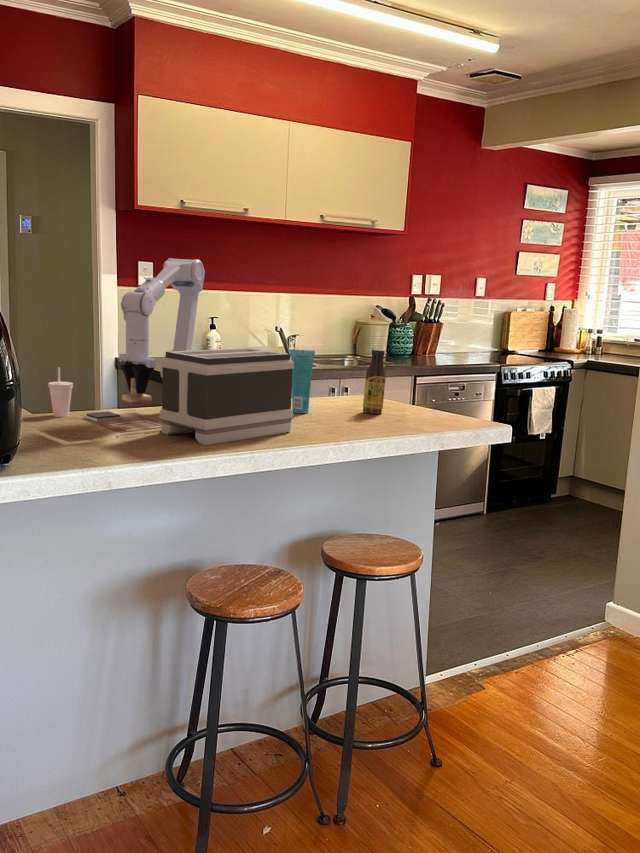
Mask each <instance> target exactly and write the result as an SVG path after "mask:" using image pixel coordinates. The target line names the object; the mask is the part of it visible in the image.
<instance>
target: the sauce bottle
mask: <svg viewBox="0 0 640 853" xmlns="http://www.w3.org/2000/svg"><path fill="white" fill-rule="evenodd" d="M385 353H386V352H385V350H384V349H379V348H378V349H377V348H376V349H375V348H373V349H371V361H370V365H369V366H368V368H367V369H366V372H365V373H366V374H365V375H366V376H365V379H364V380H365V384H364V393H363V400H362V412H363V413H365V414H368V415H369V414H371V415H381V414H382V412H383V408H384V399H385V389H386V380H387V379H386V377H387V376H386V368H385V366H384V359H385V358H384V356H385V355H386V354H385Z"/></svg>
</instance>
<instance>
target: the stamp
mask: <svg viewBox="0 0 640 853" xmlns="http://www.w3.org/2000/svg"><path fill="white" fill-rule="evenodd" d="M152 400H153V396H152V395H149V394H146V393H144V394H137V392H136V384H135V378H131V392H130V393H129V394H127V393H126V394H121V401H122V402H124V403H127V404H130V405H133V404H134V405H135V404H145V403H148V404H149V403H152V402H153V401H152Z"/></svg>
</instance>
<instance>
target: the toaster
mask: <svg viewBox="0 0 640 853" xmlns="http://www.w3.org/2000/svg"><path fill="white" fill-rule="evenodd" d="M170 351H171V352H170ZM170 351H165V355H166V358H165V357H163V358H162V359H161V361H160V366H161V367H163V372H162V377H161V381H162V387H161V388H162V390H161V391H162V394H161V397H162V398H161V409H160V410H159V416H158V420H161V428H160V432H161V434H163V435H166V436H171V435H178V434H185V433H193V432H194V434H195V439H196V441H197V442H198V444H199V445H202V446H204V447H207V446H213V445H214V446H215V445H219V444H224V443H225V444H227V443H232V442H237V441H243V440H244V441H246V440H250V439H256V438H263V437H270V436H276V435H282V434H287V433H286V432H289V433H290V432H291V428H292V420H293V418H294V413H293V410H292V373H293V368H294V362H293V361H292V360H291V354H290V353H286V352H278V351H273V350H266V349H265V350H264V349H258V348H252V347H242V348H241V347H239V348H238V347H237V348H221V349H220V348H218V349H216V348H215V349H198V350H196V349H194V350H191V351H172V350H170ZM281 433H282V434H281ZM275 434H276V435H275Z"/></svg>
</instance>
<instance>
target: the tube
mask: <svg viewBox="0 0 640 853" xmlns="http://www.w3.org/2000/svg"><path fill="white" fill-rule="evenodd" d="M289 350H290V353H289V354H291V355H290V360H292V361H293V362H294V368H293V373H292V397H291V409H292V410H293V412H294V413H293V414H300V413H305V414H308V413H309V408H310V397H311V387H312V386H311V383H312V376H313V367H314V361H315V355H316V350H312V349H311V350H310V349H309V350H306V349H305V350H304V349H289Z"/></svg>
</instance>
